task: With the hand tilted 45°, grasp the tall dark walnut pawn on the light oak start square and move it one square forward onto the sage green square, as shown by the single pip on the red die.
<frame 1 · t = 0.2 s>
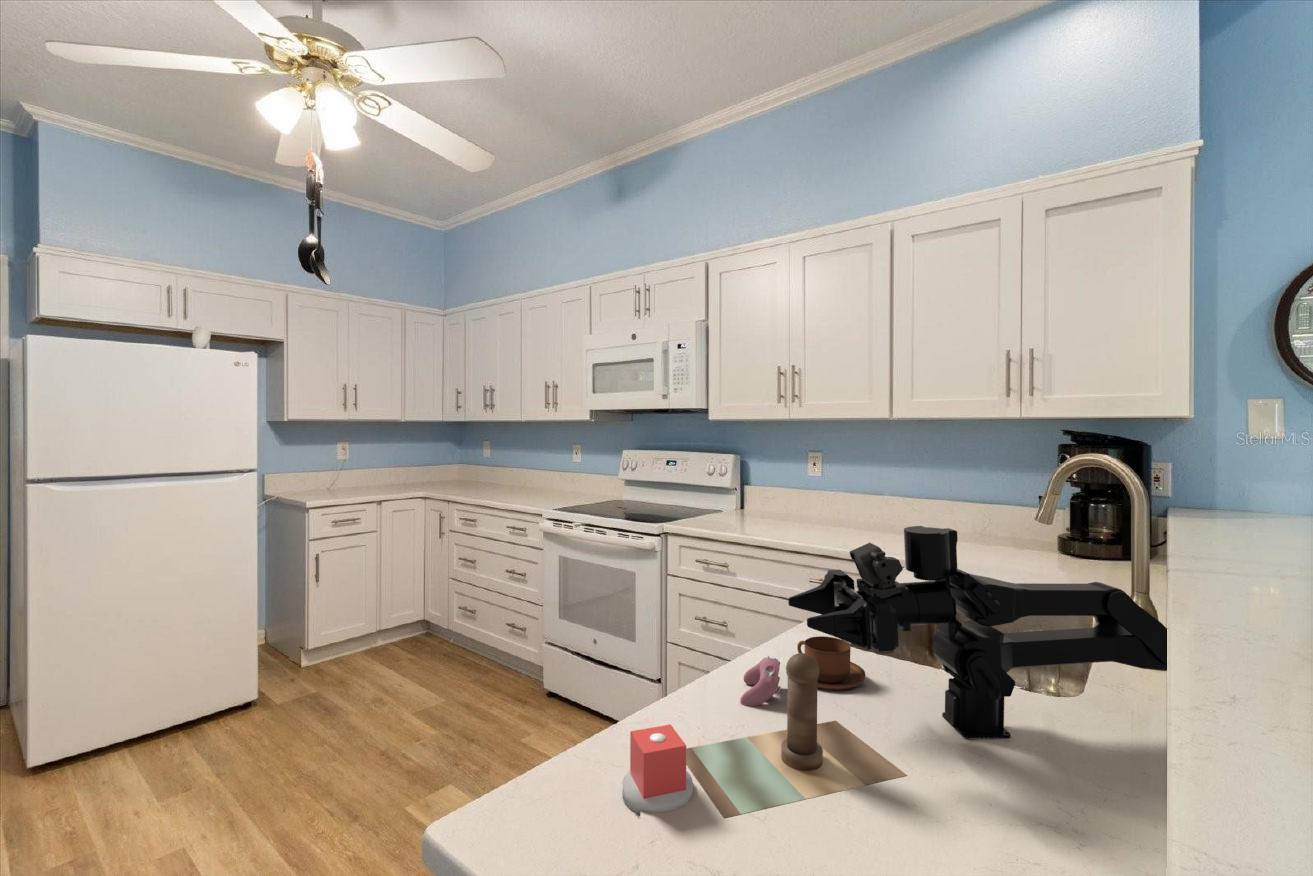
hand: (797, 611, 83), 17 cm above the counter, tool horizontal, fingers open, 9 cm apart
die stand: (657, 794, 69), on the counter
pawn: (801, 759, 75), point 1 cm above the counter, touching game track
video game controller: (761, 698, 94), on the counter
cup and saucer: (826, 682, 100), on the counter
game track: (787, 767, 75), on the counter
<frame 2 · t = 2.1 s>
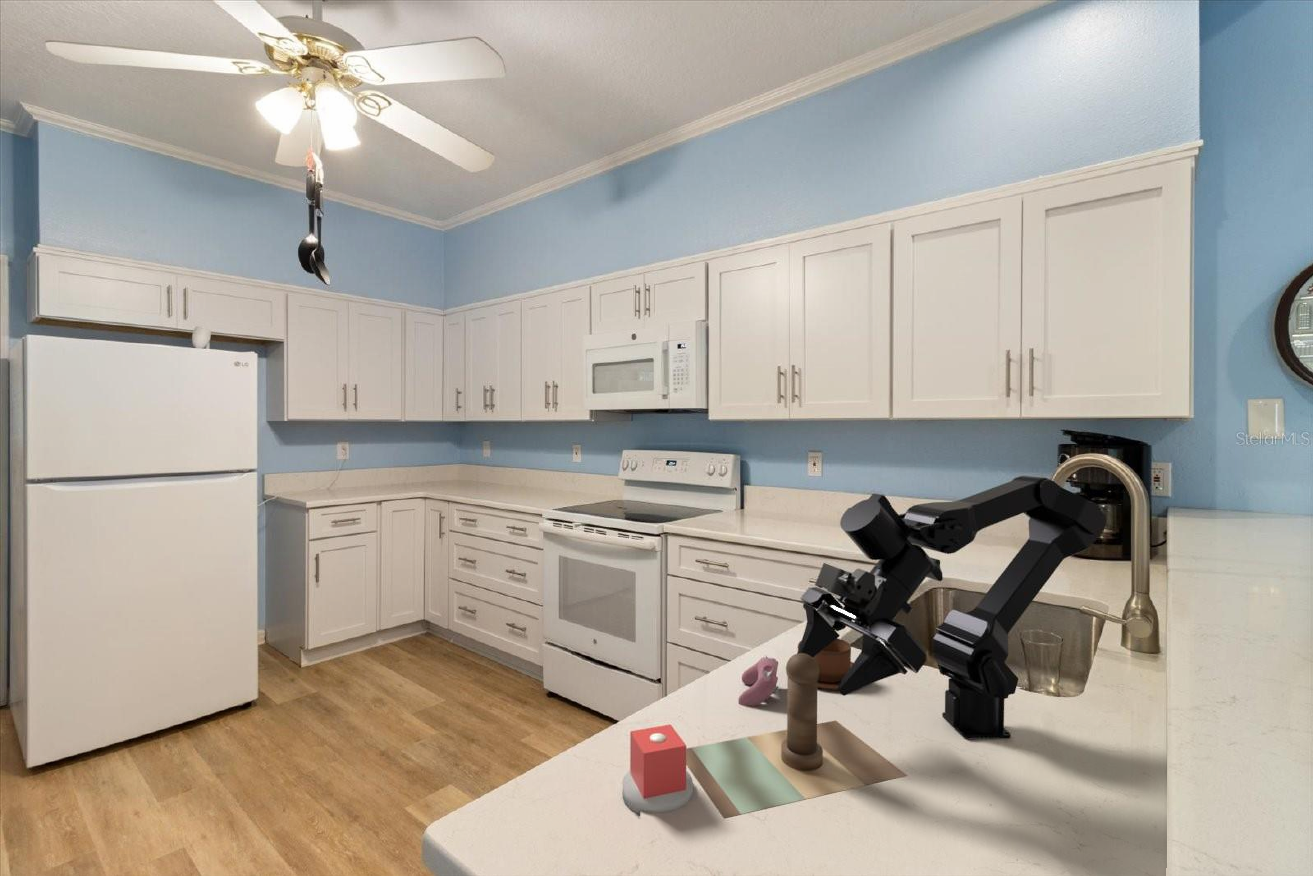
hand: (817, 677, 76), 11 cm above the counter, tool tilted 45°, fingers open, 9 cm apart
nothing on the counter moved.
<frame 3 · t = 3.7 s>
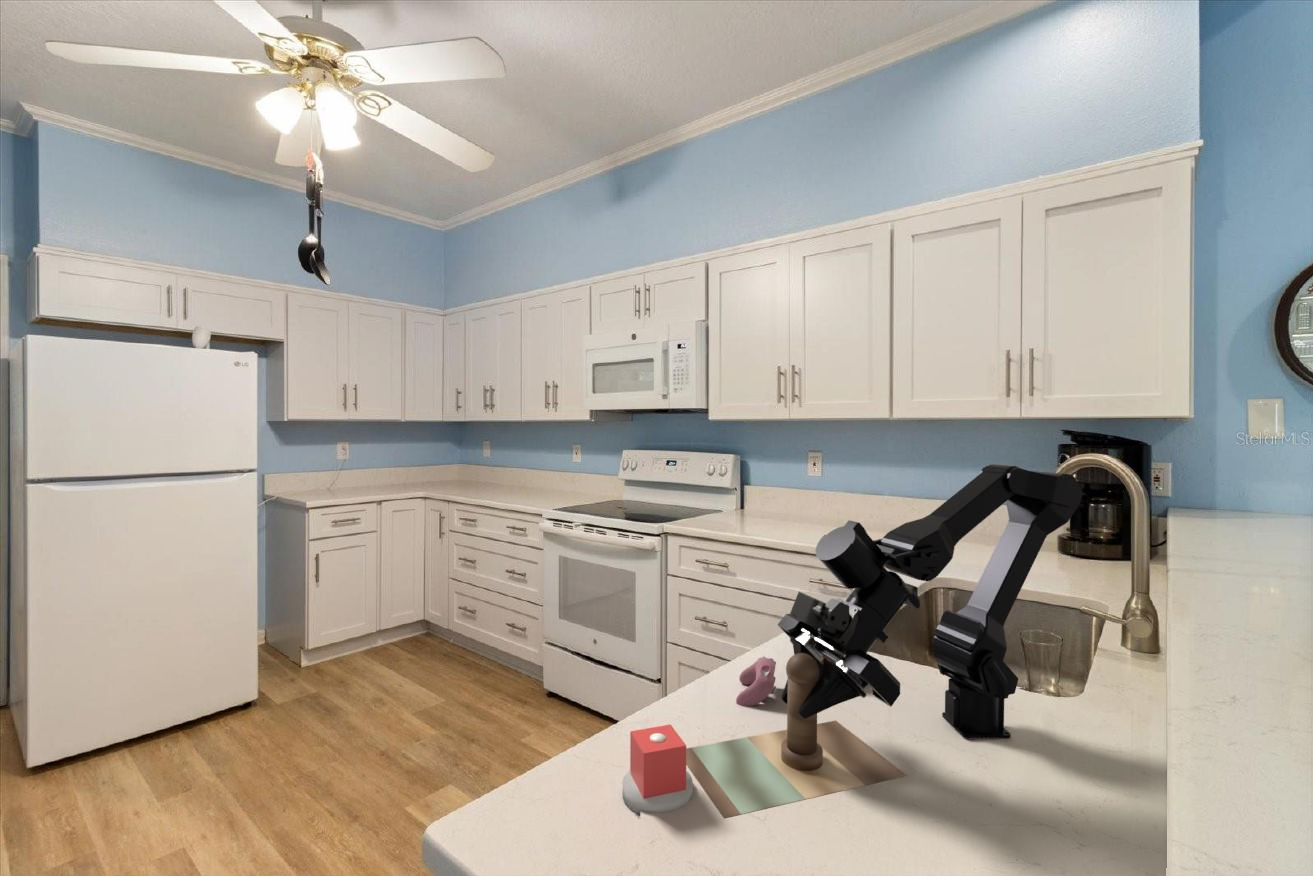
hand: (792, 708, 75), 7 cm above the counter, tool tilted 45°, fingers closed on pawn, 4 cm apart
pawn: (801, 759, 75), point 1 cm above the counter, touching game track, gripper
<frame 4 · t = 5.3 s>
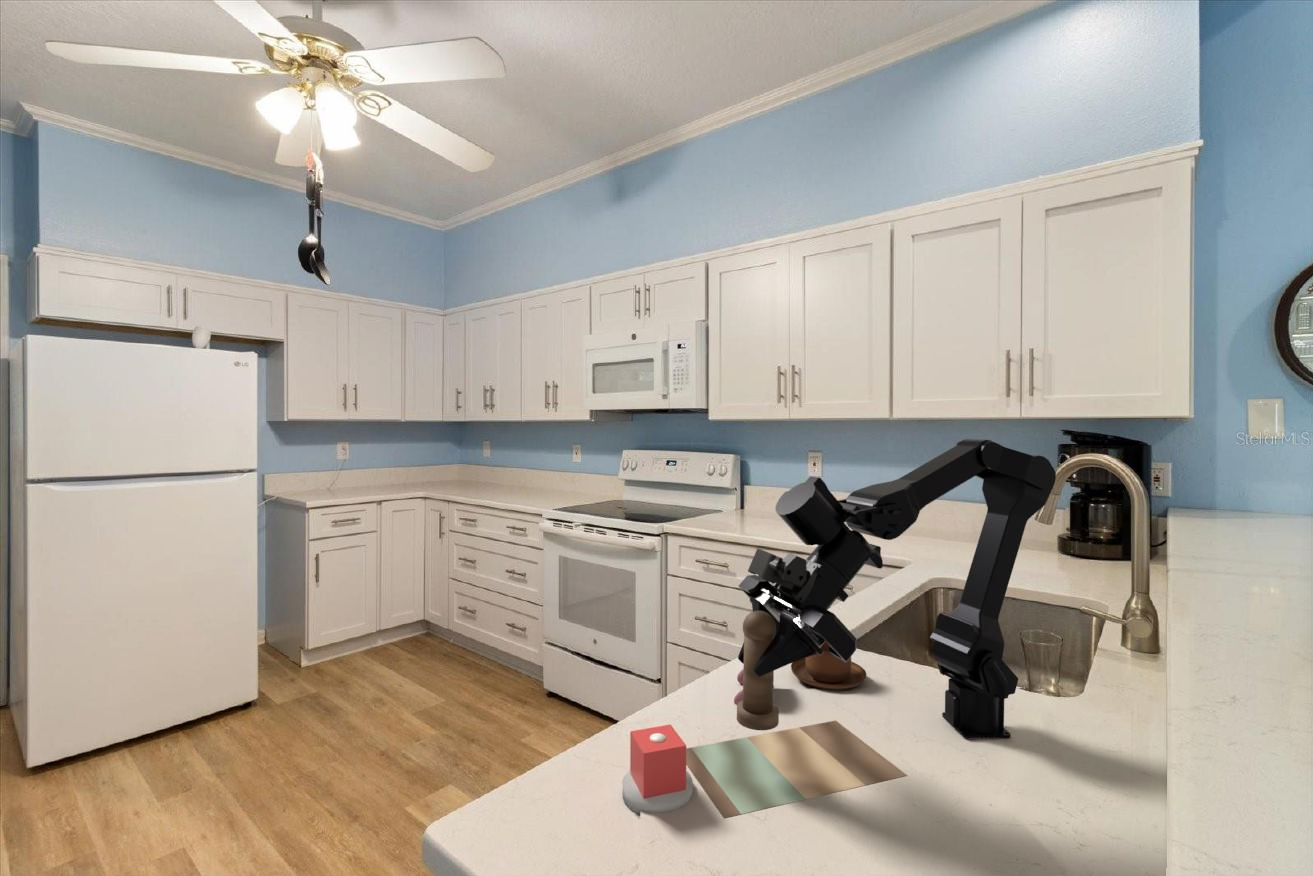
hand: (748, 667, 72), 13 cm above the counter, tool tilted 45°, fingers closed on pawn, 4 cm apart
pawn: (757, 720, 73), point 7 cm above the counter, touching gripper
when the fingers open (8 cm above the counter, at t = 6.8 s): pawn stays where it is, resting on game track.
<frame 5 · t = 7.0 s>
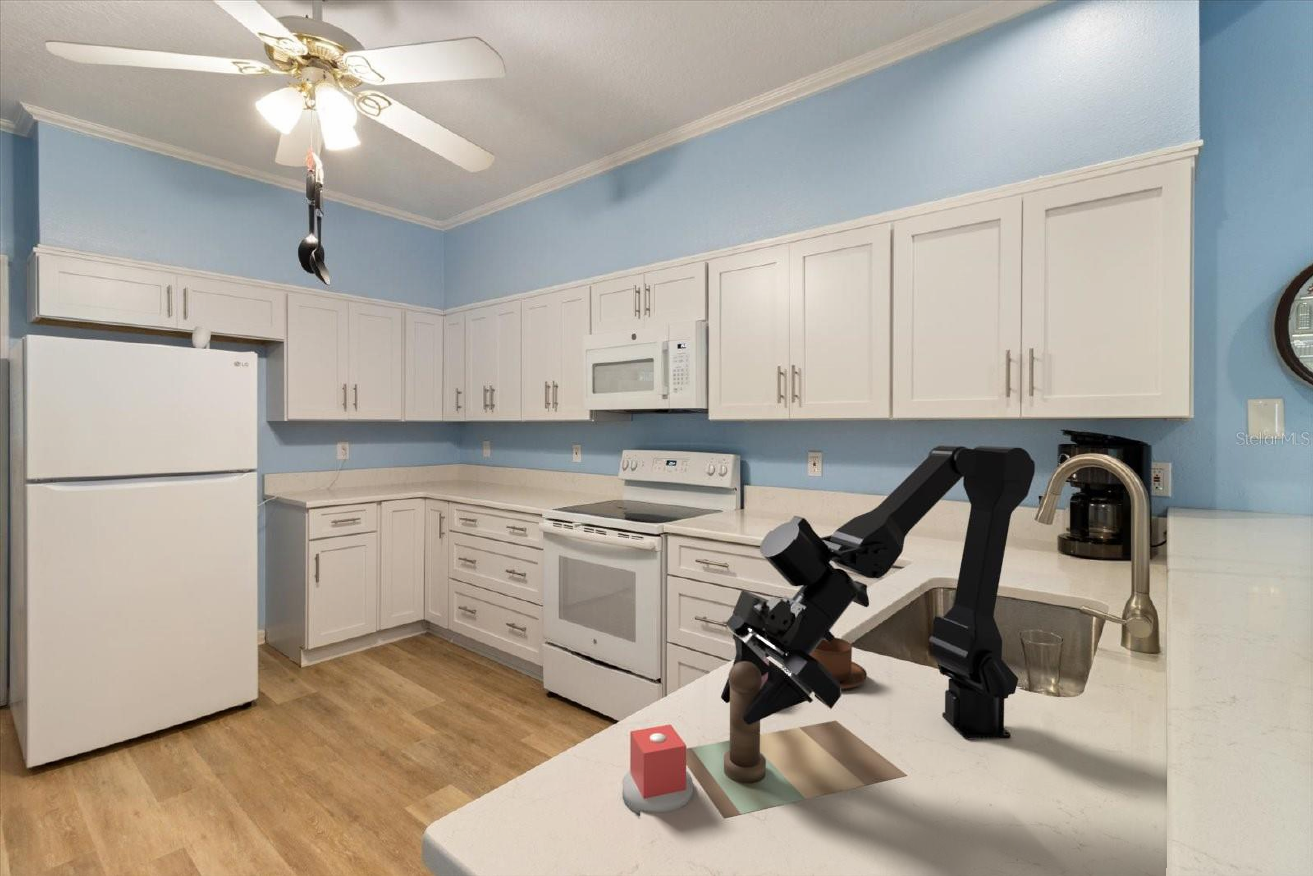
hand: (733, 711, 72), 8 cm above the counter, tool tilted 45°, fingers open, 5 cm apart
pawn: (744, 771, 73), point 1 cm above the counter, touching game track
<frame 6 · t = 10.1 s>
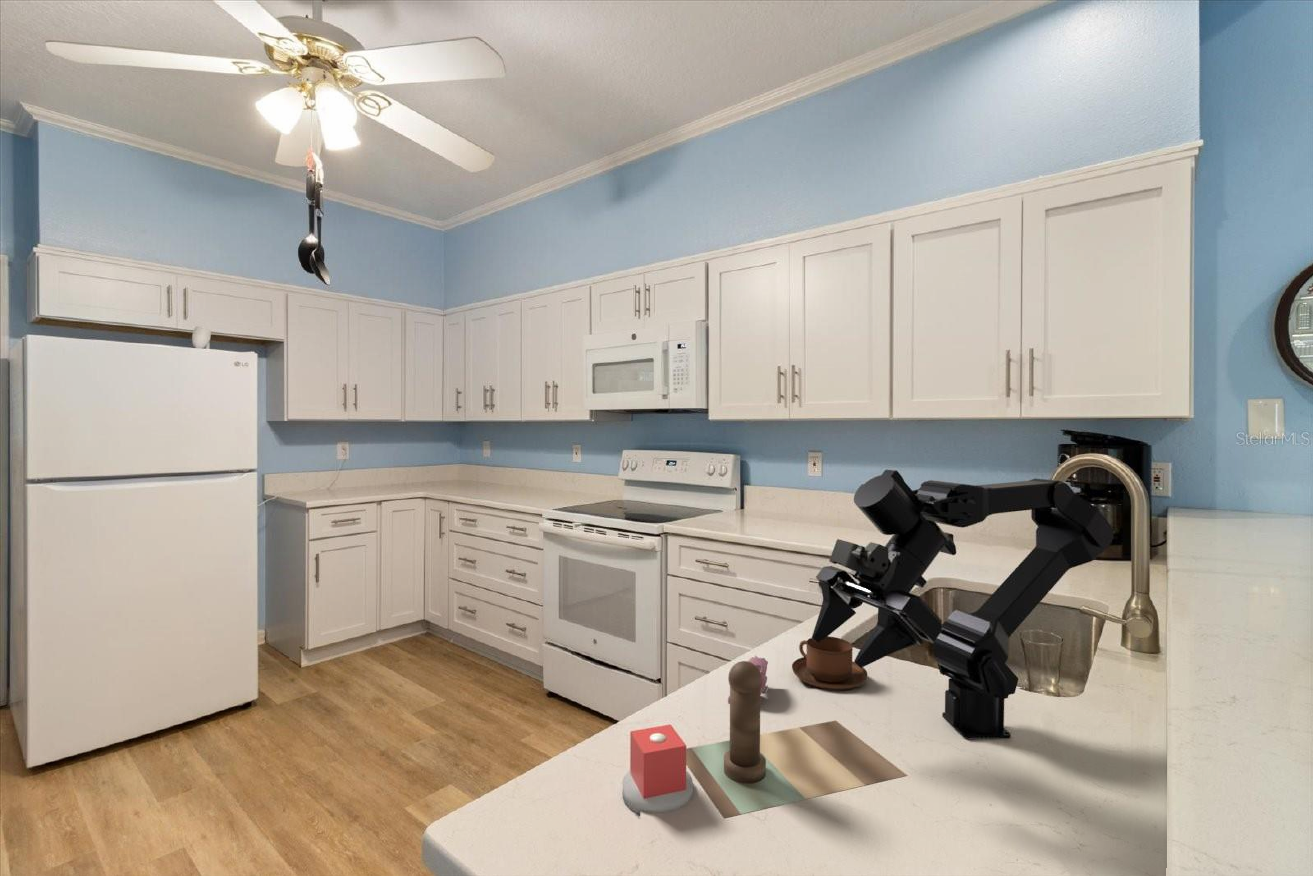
hand: (834, 652, 76), 13 cm above the counter, tool tilted 45°, fingers open, 9 cm apart
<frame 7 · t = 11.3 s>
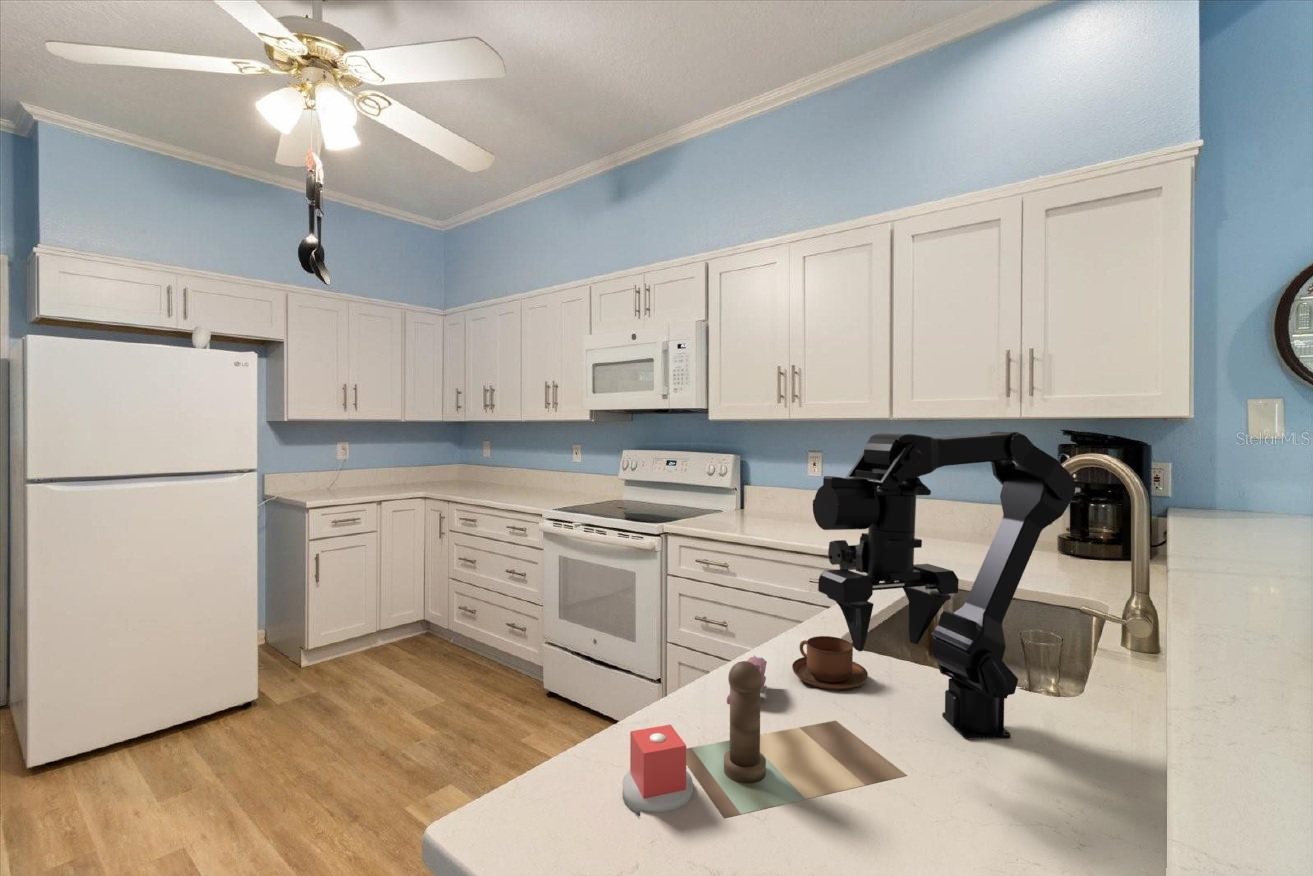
hand: (886, 646, 80), 13 cm above the counter, tool pointing down, fingers open, 9 cm apart
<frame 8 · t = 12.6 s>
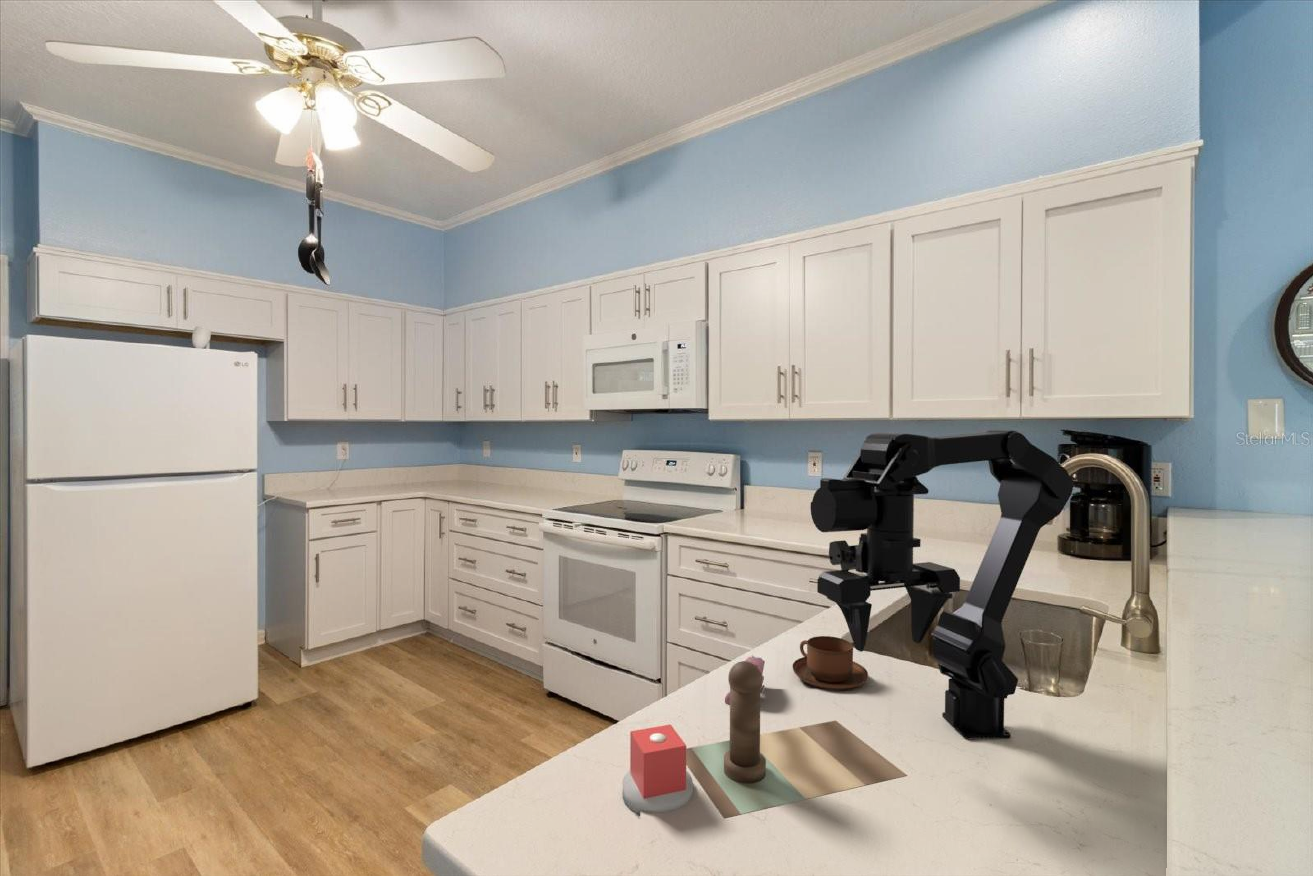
hand: (888, 646, 80), 13 cm above the counter, tool pointing down, fingers open, 9 cm apart
at the end: pawn inside the target area (0.3 cm from its centre), point 0.6 cm above the counter; pawn tilted 0°; the gripper is holding nothing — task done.
